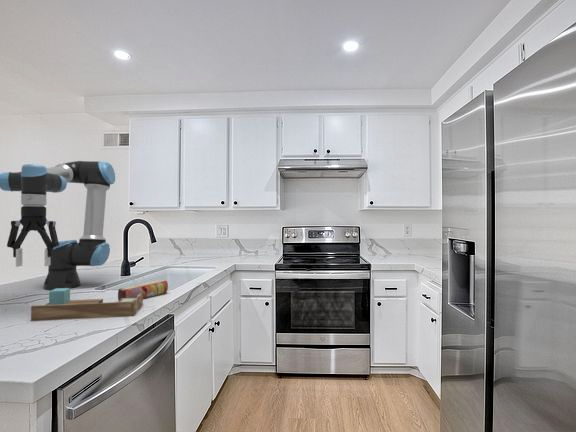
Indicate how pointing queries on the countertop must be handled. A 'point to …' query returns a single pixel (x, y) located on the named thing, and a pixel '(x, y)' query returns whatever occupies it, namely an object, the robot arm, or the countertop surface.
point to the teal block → (59, 296)
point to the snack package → (144, 289)
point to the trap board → (87, 309)
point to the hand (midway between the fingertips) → (33, 265)
